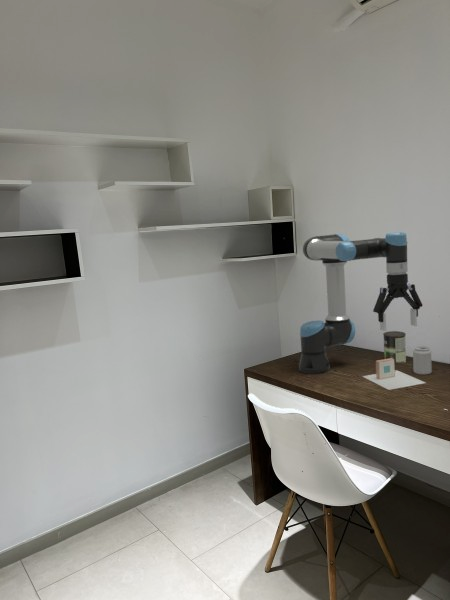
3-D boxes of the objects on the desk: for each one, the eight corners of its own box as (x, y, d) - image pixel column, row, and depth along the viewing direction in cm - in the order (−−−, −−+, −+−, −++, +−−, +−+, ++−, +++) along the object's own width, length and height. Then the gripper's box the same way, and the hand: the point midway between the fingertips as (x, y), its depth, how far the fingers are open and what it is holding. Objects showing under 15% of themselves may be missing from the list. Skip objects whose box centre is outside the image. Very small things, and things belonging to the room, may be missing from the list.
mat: (362, 377, 208) (362, 376, 208) (396, 371, 213) (396, 370, 213) (389, 391, 189) (388, 389, 189) (426, 384, 194) (426, 382, 194)
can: (434, 372, 208) (433, 346, 206) (428, 377, 202) (427, 350, 200) (417, 369, 213) (416, 344, 211) (410, 374, 207) (410, 348, 206)
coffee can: (384, 364, 225) (383, 336, 223) (383, 358, 235) (382, 331, 233) (407, 364, 222) (406, 335, 220) (405, 358, 232) (404, 330, 230)
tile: (376, 378, 204) (375, 360, 203) (392, 375, 206) (391, 358, 205) (379, 379, 202) (378, 361, 201) (395, 376, 204) (394, 359, 203)
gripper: (373, 277, 169) (375, 333, 172) (431, 270, 175) (432, 325, 178) (362, 276, 176) (364, 330, 179) (418, 269, 182) (419, 322, 185)
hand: (398, 327), depth 178 cm, fingers open, 13 cm apart
